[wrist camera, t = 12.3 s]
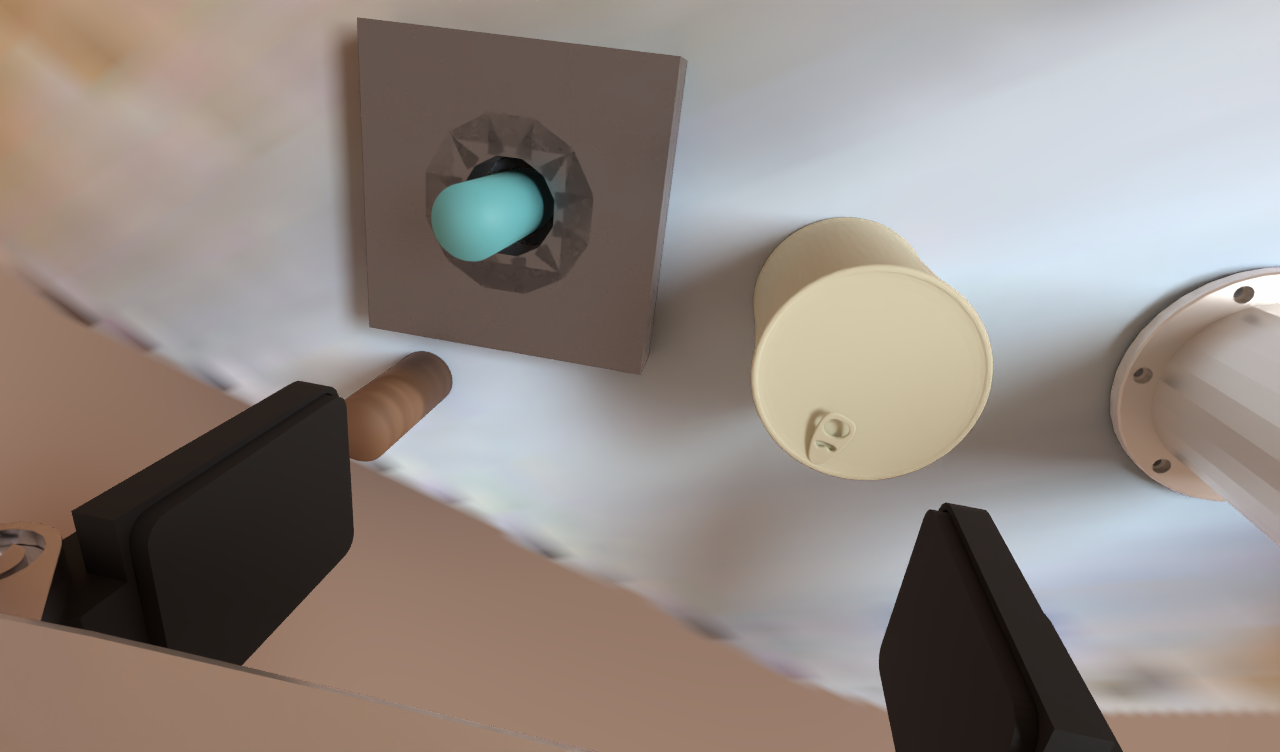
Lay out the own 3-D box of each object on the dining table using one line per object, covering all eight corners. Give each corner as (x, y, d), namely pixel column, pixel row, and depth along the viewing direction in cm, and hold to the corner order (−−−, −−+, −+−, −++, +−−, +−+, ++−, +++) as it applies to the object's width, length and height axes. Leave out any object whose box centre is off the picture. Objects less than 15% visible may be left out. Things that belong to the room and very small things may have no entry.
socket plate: (687, 60, 34) (680, 56, 31) (648, 356, 40) (640, 374, 37) (388, 24, 36) (357, 17, 33) (395, 312, 42) (369, 327, 39)
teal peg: (556, 172, 37) (506, 189, 30) (552, 235, 38) (503, 266, 31) (495, 163, 37) (431, 177, 30) (493, 226, 39) (431, 255, 31)
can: (725, 337, 39) (710, 428, 28) (803, 187, 35) (821, 223, 24) (870, 406, 39) (911, 523, 28) (963, 262, 35) (1054, 333, 24)
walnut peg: (452, 356, 42) (387, 408, 35) (452, 406, 44) (388, 466, 36) (400, 347, 43) (324, 396, 35) (401, 397, 44) (328, 454, 37)
